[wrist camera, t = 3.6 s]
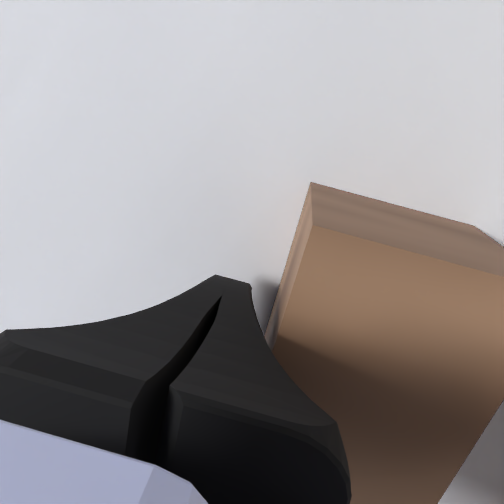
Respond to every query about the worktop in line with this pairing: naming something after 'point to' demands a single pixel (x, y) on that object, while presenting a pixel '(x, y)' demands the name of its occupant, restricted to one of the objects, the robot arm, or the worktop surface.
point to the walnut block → (393, 338)
